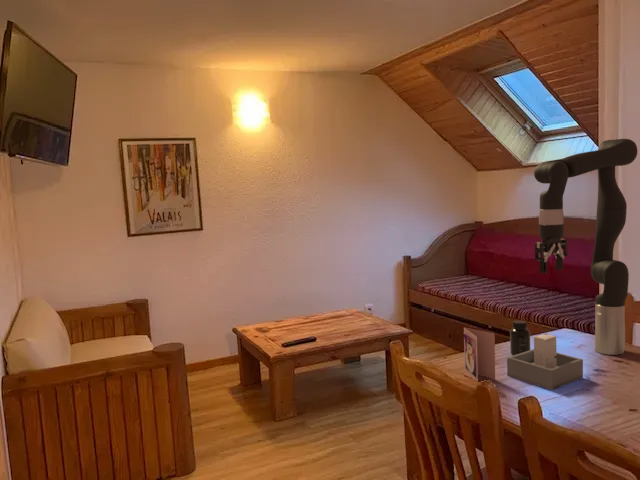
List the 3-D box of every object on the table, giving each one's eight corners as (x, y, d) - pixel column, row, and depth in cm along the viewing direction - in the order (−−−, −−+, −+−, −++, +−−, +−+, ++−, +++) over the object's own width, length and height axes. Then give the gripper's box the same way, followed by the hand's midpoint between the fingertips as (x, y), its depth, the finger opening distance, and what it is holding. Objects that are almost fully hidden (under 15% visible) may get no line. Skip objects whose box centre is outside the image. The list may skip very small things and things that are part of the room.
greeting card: (462, 371, 180) (461, 327, 179) (483, 369, 181) (483, 326, 180) (475, 383, 169) (474, 336, 168) (497, 381, 170) (497, 335, 168)
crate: (538, 364, 183) (538, 347, 183) (582, 377, 170) (582, 359, 169) (507, 375, 175) (507, 357, 174) (551, 390, 161) (551, 370, 161)
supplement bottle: (532, 352, 196) (532, 320, 195) (528, 358, 190) (528, 325, 189) (512, 350, 200) (512, 318, 199) (508, 355, 194) (507, 323, 193)
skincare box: (545, 377, 169) (545, 339, 167) (533, 373, 172) (533, 336, 171) (557, 373, 172) (557, 336, 171) (545, 369, 176) (545, 333, 175)
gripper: (554, 220, 184) (554, 267, 186) (527, 224, 177) (527, 272, 178) (574, 221, 178) (574, 270, 180) (548, 224, 170) (548, 275, 172)
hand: (551, 271), depth 179 cm, fingers open, 8 cm apart
